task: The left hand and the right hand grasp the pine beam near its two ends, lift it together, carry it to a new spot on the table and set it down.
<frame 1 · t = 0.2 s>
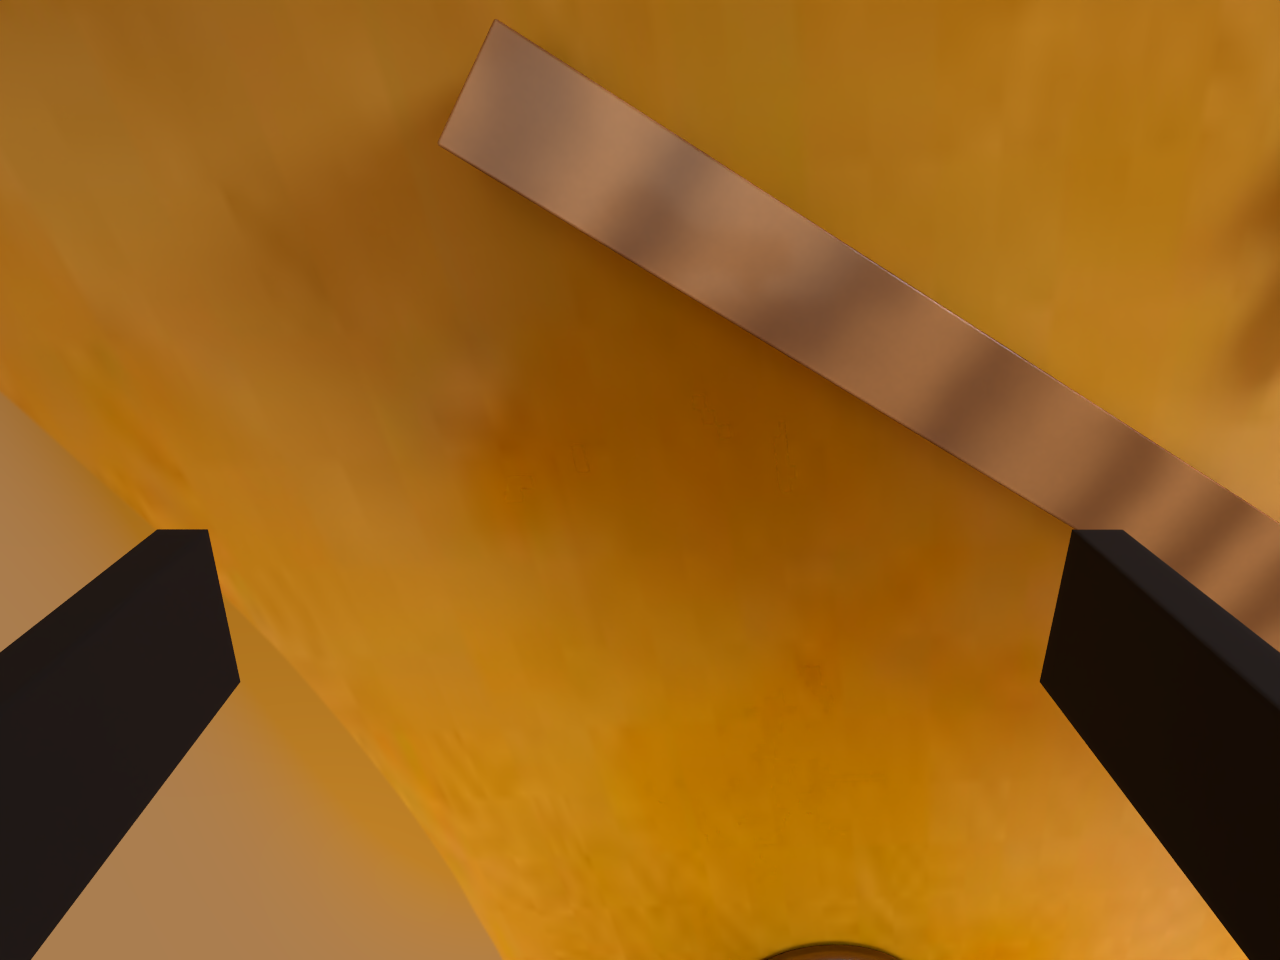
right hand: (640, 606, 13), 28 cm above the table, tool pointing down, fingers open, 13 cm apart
beam: (1184, 522, 43), on the table
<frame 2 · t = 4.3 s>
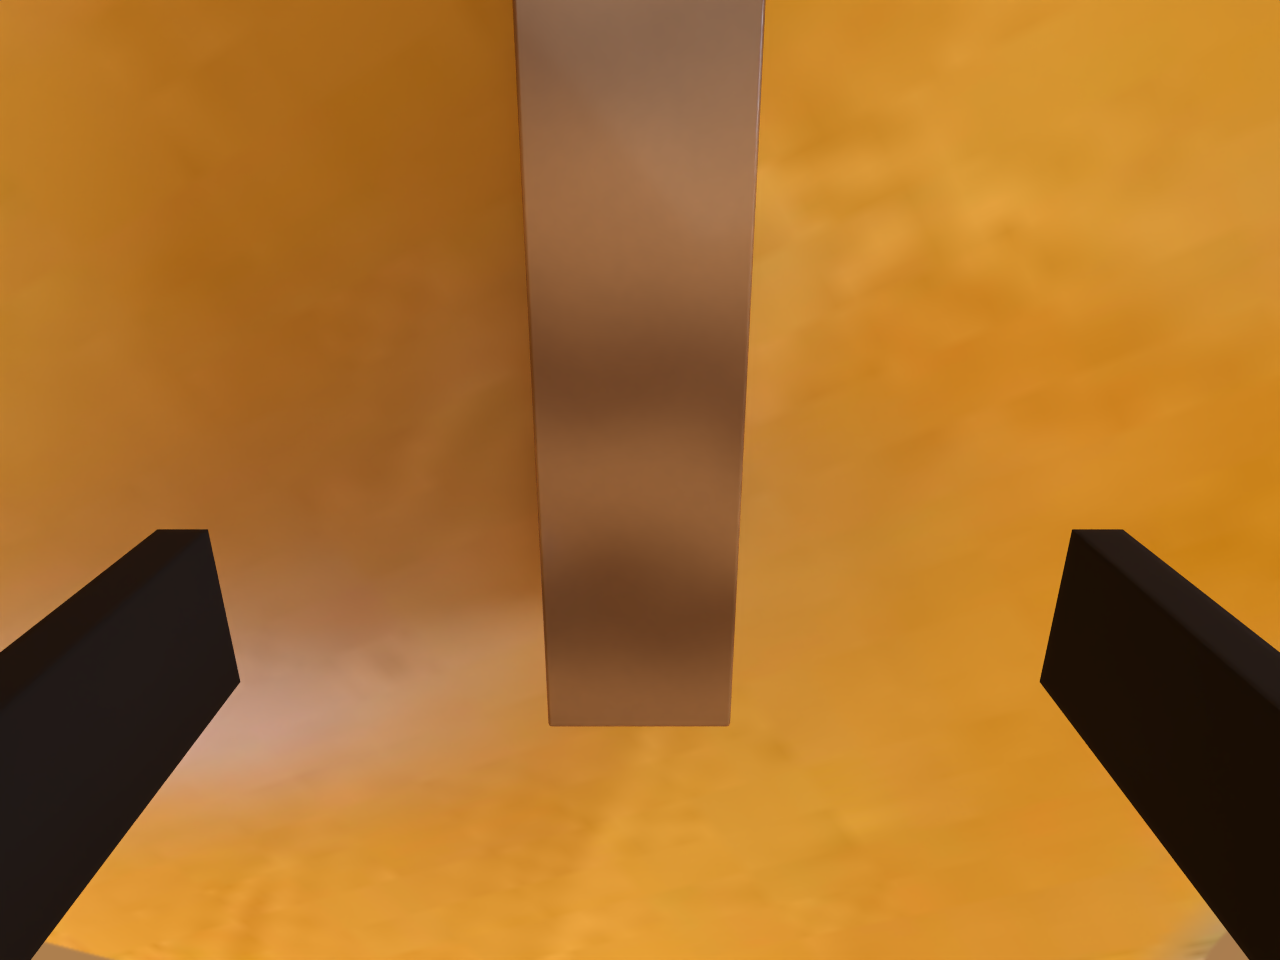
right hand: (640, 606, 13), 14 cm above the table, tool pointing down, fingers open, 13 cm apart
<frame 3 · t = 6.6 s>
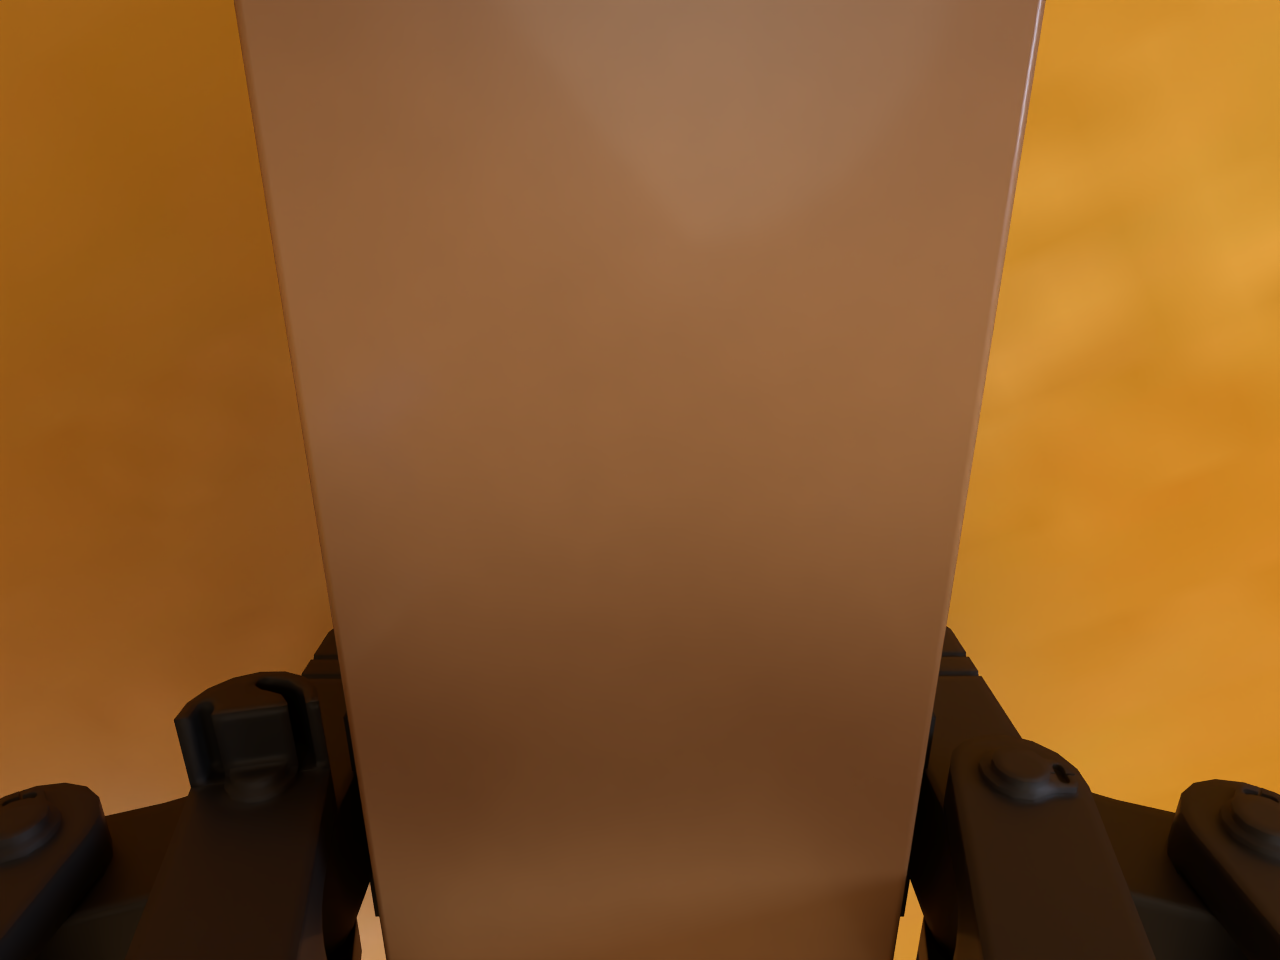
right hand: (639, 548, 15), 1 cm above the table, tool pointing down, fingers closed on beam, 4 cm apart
when the right hand's fingers open (2 cm above the table, at t = 11.3 s): beam drops 1 cm, on the table.
when the left hand's fingers open (5 cm above the table, at t = 11.5 s): beam stays where it is, on the table.
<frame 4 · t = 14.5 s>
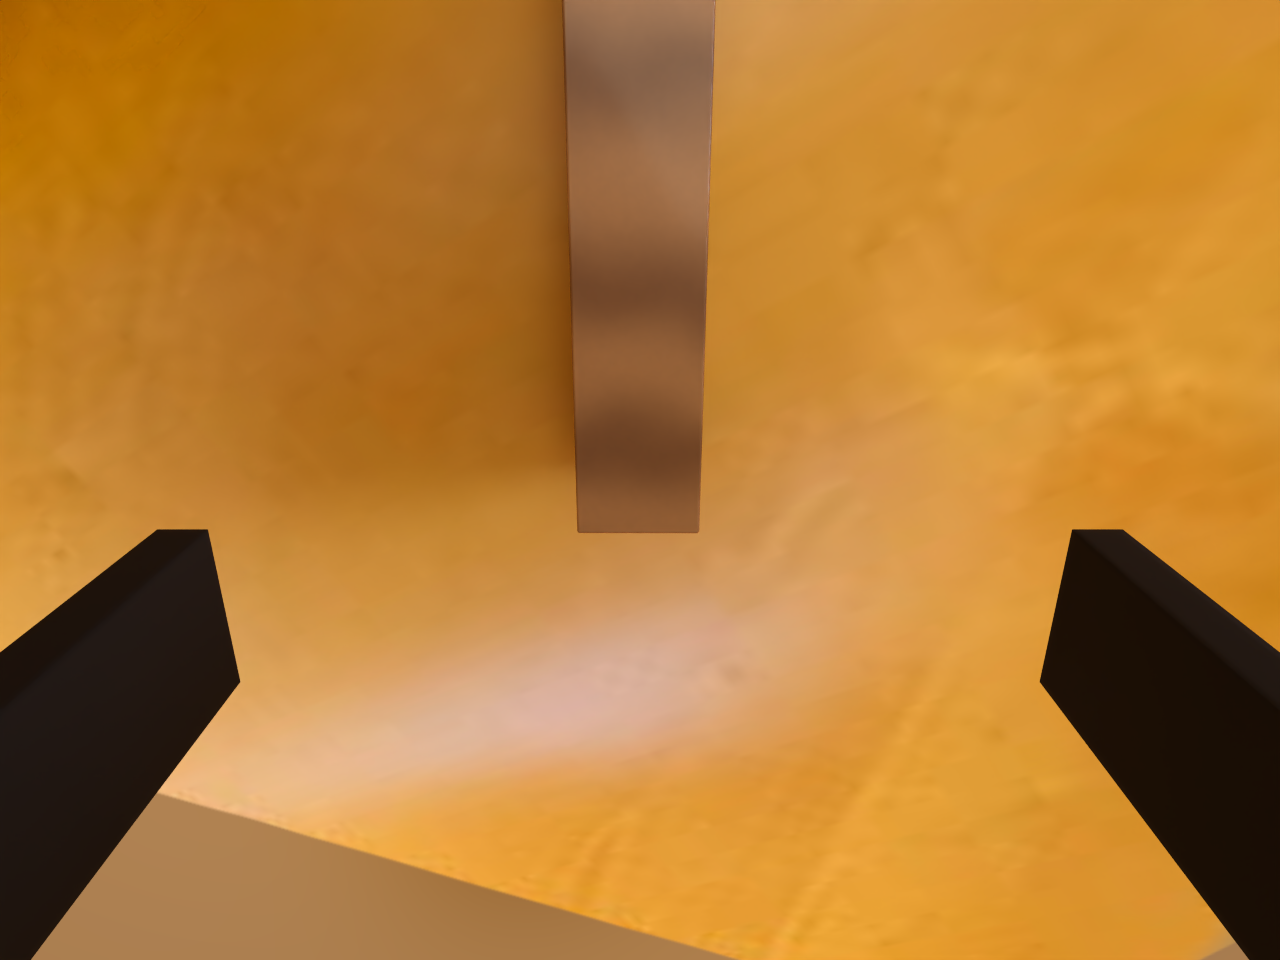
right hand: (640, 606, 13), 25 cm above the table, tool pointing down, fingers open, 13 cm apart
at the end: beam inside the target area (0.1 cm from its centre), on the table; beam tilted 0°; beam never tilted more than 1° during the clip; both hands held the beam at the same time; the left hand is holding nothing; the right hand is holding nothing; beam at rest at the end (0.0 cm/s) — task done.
